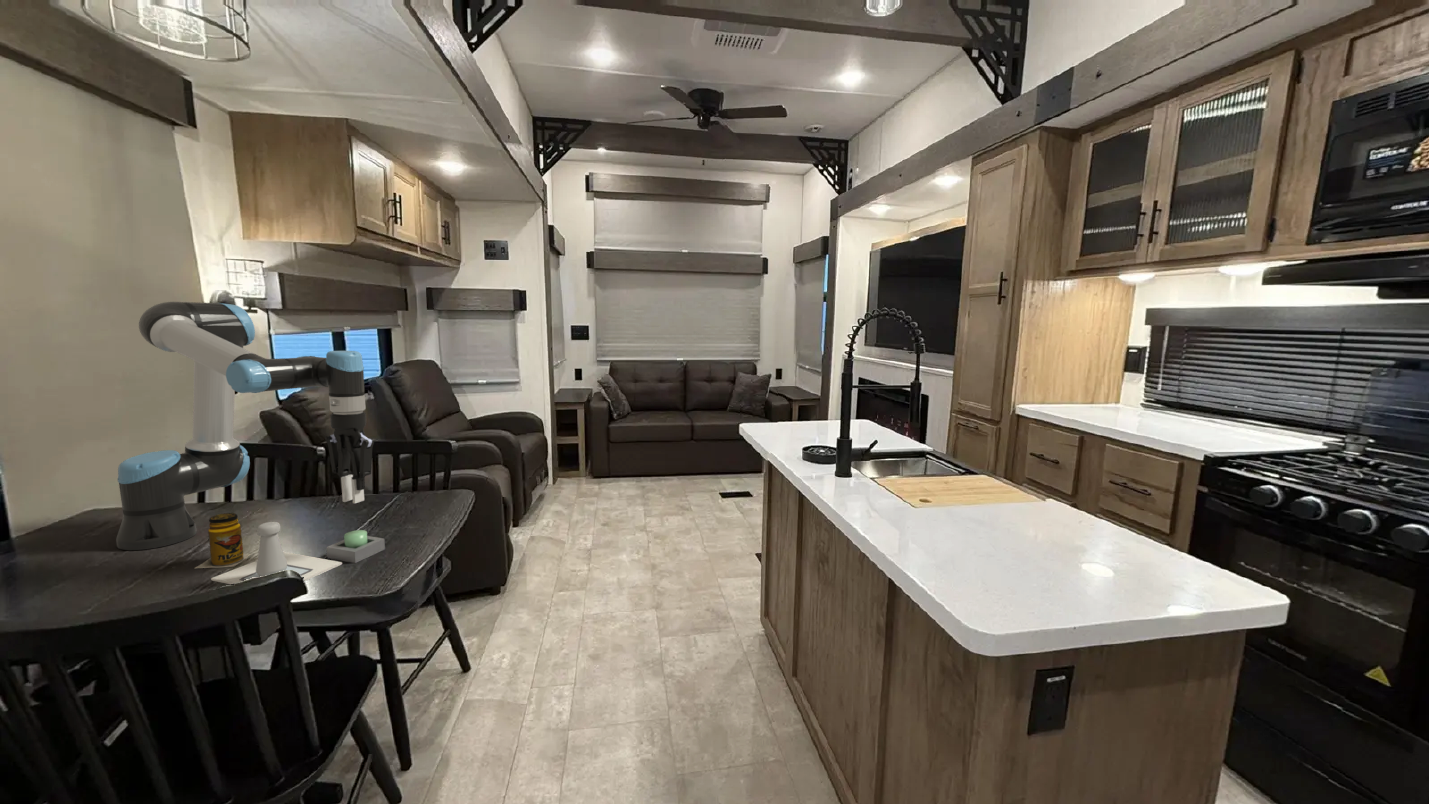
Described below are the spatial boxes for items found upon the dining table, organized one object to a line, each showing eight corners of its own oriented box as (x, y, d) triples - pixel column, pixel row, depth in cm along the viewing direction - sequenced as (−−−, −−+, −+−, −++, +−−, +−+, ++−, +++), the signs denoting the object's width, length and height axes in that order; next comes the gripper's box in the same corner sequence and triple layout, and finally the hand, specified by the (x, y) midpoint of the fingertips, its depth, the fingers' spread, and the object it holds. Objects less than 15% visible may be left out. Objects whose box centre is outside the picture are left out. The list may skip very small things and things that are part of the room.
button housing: (327, 558, 140) (326, 547, 139) (358, 544, 148) (357, 534, 148) (355, 563, 138) (354, 551, 137) (384, 549, 146) (384, 538, 146)
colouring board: (211, 580, 126) (210, 577, 126) (281, 553, 142) (281, 550, 142) (277, 594, 121) (276, 591, 121) (342, 564, 137) (342, 561, 137)
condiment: (234, 566, 133) (230, 520, 132) (193, 569, 131) (188, 522, 130) (252, 554, 140) (248, 510, 139) (213, 556, 138) (209, 511, 137)
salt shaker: (270, 583, 125) (265, 529, 123) (250, 580, 126) (245, 526, 124) (294, 572, 130) (290, 520, 128) (275, 569, 131) (270, 518, 130)
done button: (340, 550, 141) (339, 536, 140) (357, 543, 146) (356, 529, 145) (355, 553, 140) (354, 538, 139) (372, 545, 145) (371, 531, 144)
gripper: (309, 411, 136) (316, 501, 139) (359, 416, 132) (365, 509, 135) (337, 407, 143) (342, 493, 146) (385, 412, 139) (390, 500, 143)
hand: (353, 500), depth 141 cm, fingers open, 3 cm apart
